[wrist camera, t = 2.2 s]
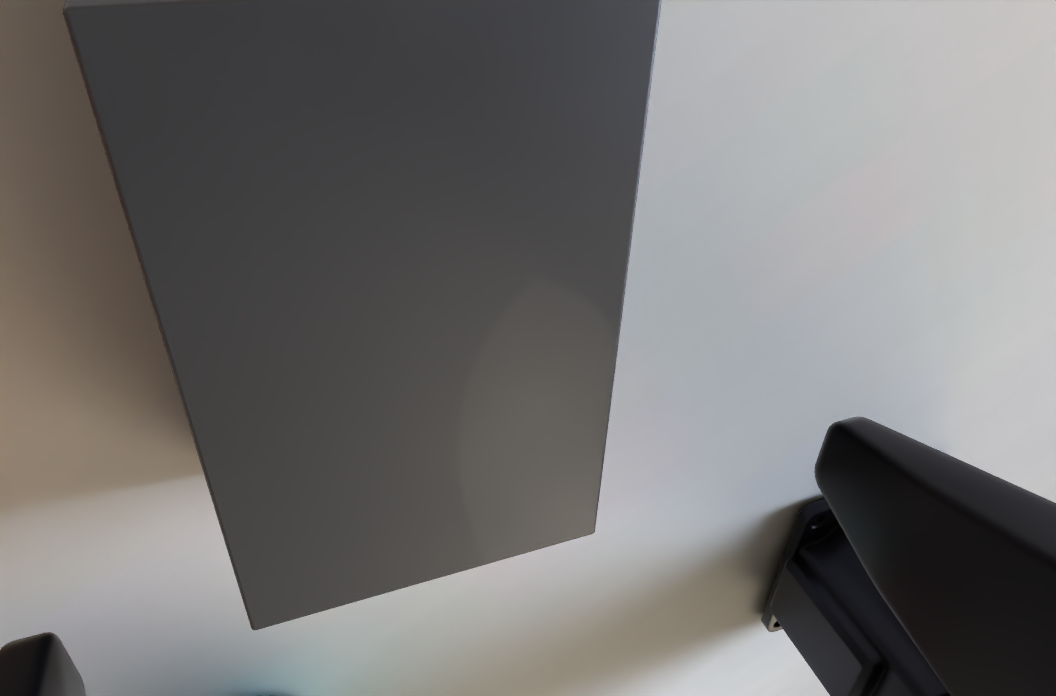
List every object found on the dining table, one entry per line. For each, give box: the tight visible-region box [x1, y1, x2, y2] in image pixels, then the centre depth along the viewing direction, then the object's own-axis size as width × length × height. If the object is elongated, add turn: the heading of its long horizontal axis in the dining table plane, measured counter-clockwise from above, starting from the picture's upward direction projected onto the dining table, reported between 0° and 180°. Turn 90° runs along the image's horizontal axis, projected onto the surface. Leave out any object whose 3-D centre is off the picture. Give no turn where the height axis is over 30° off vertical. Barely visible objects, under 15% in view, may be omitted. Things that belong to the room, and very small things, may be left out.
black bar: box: [63, 0, 661, 630], centre depth 13 cm, size 6×10×4 cm, turn 178°
